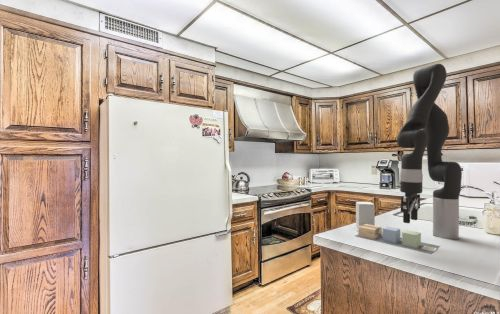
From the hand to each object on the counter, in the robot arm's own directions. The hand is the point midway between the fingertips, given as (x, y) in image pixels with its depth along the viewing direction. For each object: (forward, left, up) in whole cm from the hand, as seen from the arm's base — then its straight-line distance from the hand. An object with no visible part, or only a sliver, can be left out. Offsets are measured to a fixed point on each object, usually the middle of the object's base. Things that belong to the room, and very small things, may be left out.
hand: (410, 221), depth 105 cm
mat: (-1, -6, -10) cm, 12 cm away
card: (0, +6, -9) cm, 11 cm away
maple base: (0, -16, -9) cm, 19 cm away
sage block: (0, 0, -9) cm, 9 cm away
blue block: (0, -7, -9) cm, 12 cm away
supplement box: (-12, -24, -10) cm, 28 cm away
